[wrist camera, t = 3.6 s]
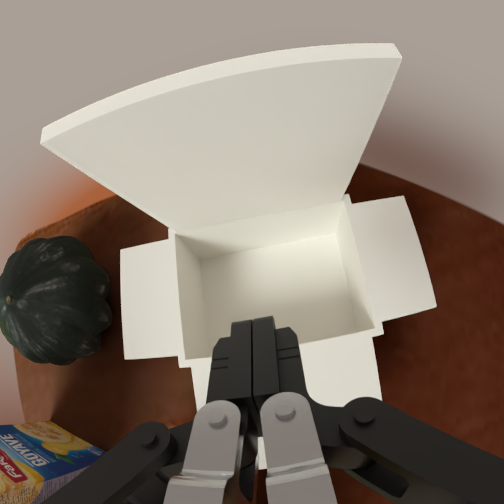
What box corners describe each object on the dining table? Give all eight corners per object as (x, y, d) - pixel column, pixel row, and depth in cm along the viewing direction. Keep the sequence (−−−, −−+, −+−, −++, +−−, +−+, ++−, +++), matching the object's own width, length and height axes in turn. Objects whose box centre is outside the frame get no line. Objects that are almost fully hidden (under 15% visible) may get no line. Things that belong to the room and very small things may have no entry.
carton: (380, 222, 33) (399, 185, 25) (420, 409, 26) (453, 422, 18) (155, 264, 35) (120, 239, 28) (175, 447, 28) (141, 468, 20)
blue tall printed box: (49, 420, 30) (-87, 424, 10) (112, 455, 28) (-36, 498, 8) (47, 460, 28) (-77, 479, 8) (109, 496, 26) (-19, 553, 6)
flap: (337, 191, 25) (392, 41, 9) (340, 201, 25) (402, 57, 8) (176, 222, 27) (43, 125, 10) (177, 232, 26) (40, 143, 10)
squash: (15, 246, 33) (-51, 294, 19) (97, 203, 33) (36, 243, 19) (61, 332, 38) (20, 401, 24) (145, 304, 39) (120, 383, 25)
